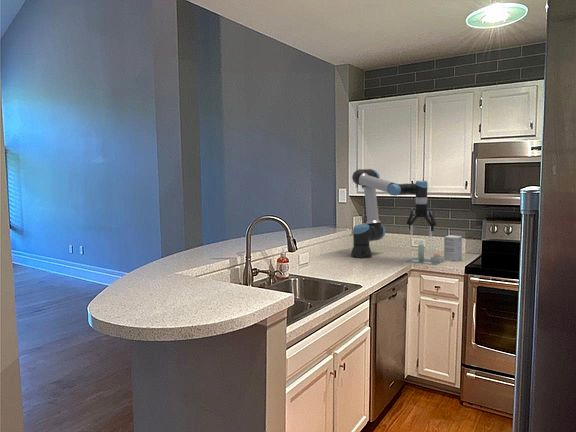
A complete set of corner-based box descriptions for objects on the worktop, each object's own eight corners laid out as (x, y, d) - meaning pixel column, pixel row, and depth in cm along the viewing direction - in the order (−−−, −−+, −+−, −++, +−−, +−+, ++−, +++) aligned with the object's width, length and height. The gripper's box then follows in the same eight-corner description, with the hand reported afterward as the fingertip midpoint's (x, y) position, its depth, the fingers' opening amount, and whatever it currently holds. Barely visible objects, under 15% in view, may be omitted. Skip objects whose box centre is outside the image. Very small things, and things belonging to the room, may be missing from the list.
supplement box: (448, 258, 293) (448, 235, 292) (462, 260, 288) (462, 235, 286) (443, 261, 286) (443, 236, 285) (457, 262, 280) (457, 237, 279)
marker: (417, 261, 283) (417, 243, 282) (419, 260, 286) (419, 243, 285) (422, 262, 281) (422, 244, 280) (424, 261, 283) (424, 243, 282)
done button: (433, 259, 282) (433, 253, 281) (435, 258, 284) (435, 252, 284) (438, 260, 279) (438, 254, 279) (440, 259, 282) (440, 253, 282)
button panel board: (404, 262, 285) (404, 256, 285) (414, 258, 297) (414, 252, 297) (435, 266, 270) (435, 259, 270) (445, 262, 282) (445, 256, 282)
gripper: (401, 203, 285) (401, 234, 287) (437, 204, 269) (436, 237, 271) (406, 203, 291) (406, 233, 293) (441, 203, 274) (441, 236, 276)
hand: (421, 235), depth 282 cm, fingers open, 13 cm apart
